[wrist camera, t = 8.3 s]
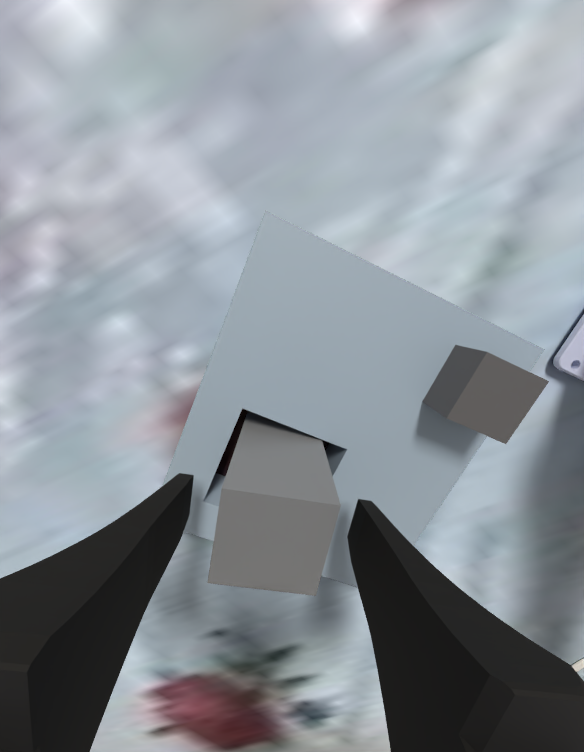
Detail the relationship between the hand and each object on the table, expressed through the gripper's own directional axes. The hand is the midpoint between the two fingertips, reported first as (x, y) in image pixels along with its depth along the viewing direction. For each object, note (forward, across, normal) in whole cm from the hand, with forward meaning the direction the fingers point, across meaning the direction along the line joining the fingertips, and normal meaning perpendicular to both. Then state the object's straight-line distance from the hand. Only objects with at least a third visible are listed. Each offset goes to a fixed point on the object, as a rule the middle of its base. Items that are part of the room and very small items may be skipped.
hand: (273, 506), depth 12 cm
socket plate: (+5, -3, -2) cm, 6 cm away
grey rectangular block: (+5, 0, 0) cm, 5 cm away
